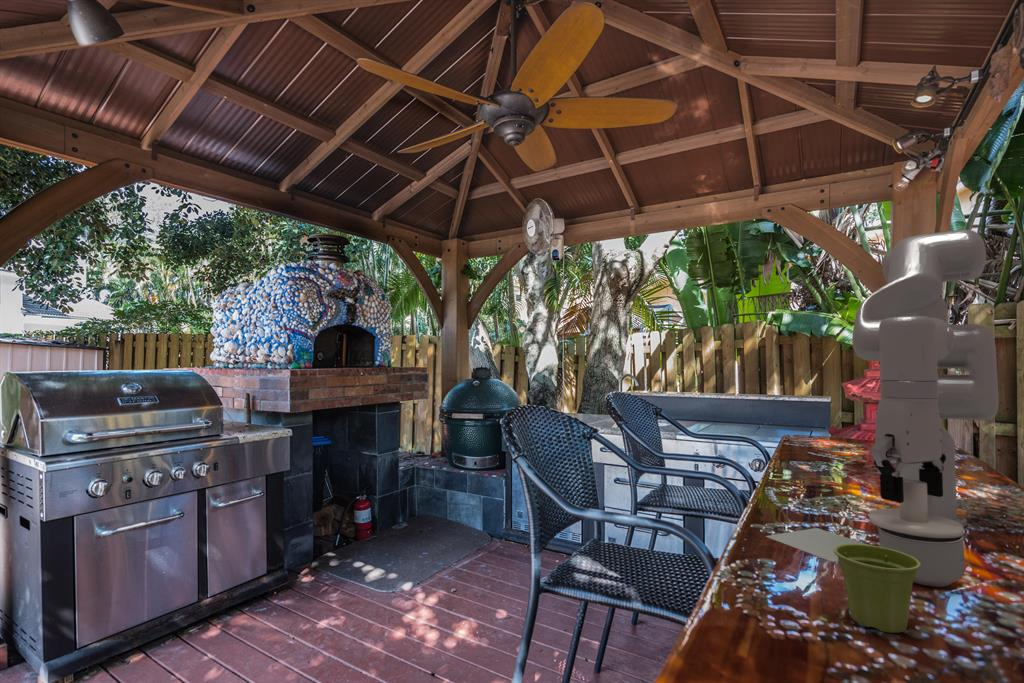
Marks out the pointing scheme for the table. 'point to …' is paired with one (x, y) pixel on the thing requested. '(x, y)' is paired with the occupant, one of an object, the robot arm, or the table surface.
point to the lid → (915, 515)
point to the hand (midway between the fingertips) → (912, 497)
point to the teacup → (929, 556)
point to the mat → (814, 542)
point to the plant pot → (878, 585)
